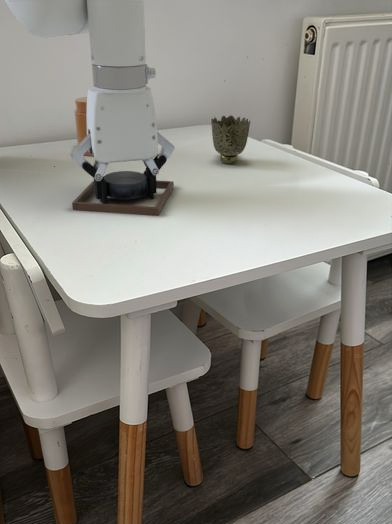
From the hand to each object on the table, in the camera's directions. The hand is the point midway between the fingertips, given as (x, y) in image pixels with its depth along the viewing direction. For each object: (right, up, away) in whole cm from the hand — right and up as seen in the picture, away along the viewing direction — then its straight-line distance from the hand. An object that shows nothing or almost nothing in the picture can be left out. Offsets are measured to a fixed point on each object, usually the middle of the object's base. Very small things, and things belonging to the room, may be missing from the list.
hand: (126, 199), depth 89 cm
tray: (0, -1, 0) cm, 1 cm away
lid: (0, +3, -2) cm, 3 cm away
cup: (+18, +13, +21) cm, 30 cm away
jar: (-10, +17, +26) cm, 32 cm away
